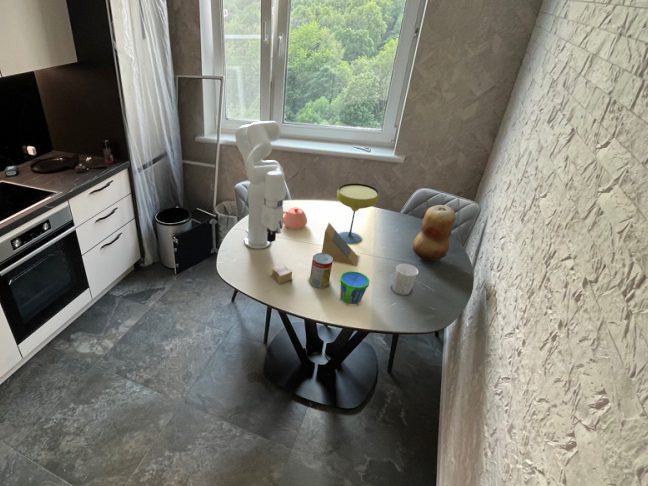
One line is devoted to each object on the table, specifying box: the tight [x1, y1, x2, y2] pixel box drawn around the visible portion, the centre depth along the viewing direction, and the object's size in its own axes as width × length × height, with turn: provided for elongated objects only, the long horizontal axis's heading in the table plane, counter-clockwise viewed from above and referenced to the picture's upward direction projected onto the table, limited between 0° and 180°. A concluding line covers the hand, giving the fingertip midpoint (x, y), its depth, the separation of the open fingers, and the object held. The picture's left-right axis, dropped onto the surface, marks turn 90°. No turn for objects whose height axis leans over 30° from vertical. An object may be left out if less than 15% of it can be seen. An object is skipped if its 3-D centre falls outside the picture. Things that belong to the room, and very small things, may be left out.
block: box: [271, 264, 293, 284], centre depth 171 cm, size 6×6×4 cm
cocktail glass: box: [336, 183, 380, 245], centre depth 189 cm, size 18×18×25 cm
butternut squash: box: [412, 204, 457, 261], centre depth 172 cm, size 14×13×25 cm
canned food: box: [309, 252, 333, 288], centre depth 165 cm, size 8×8×12 cm
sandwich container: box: [321, 222, 359, 266], centre depth 178 cm, size 9×15×15 cm, turn 64°
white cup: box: [391, 263, 419, 296], centre depth 159 cm, size 8×8×10 cm
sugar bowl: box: [283, 206, 308, 230], centre depth 206 cm, size 12×14×10 cm
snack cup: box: [339, 270, 370, 305], centre depth 155 cm, size 16×10×10 cm
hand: (271, 240), depth 171 cm, fingers closed
